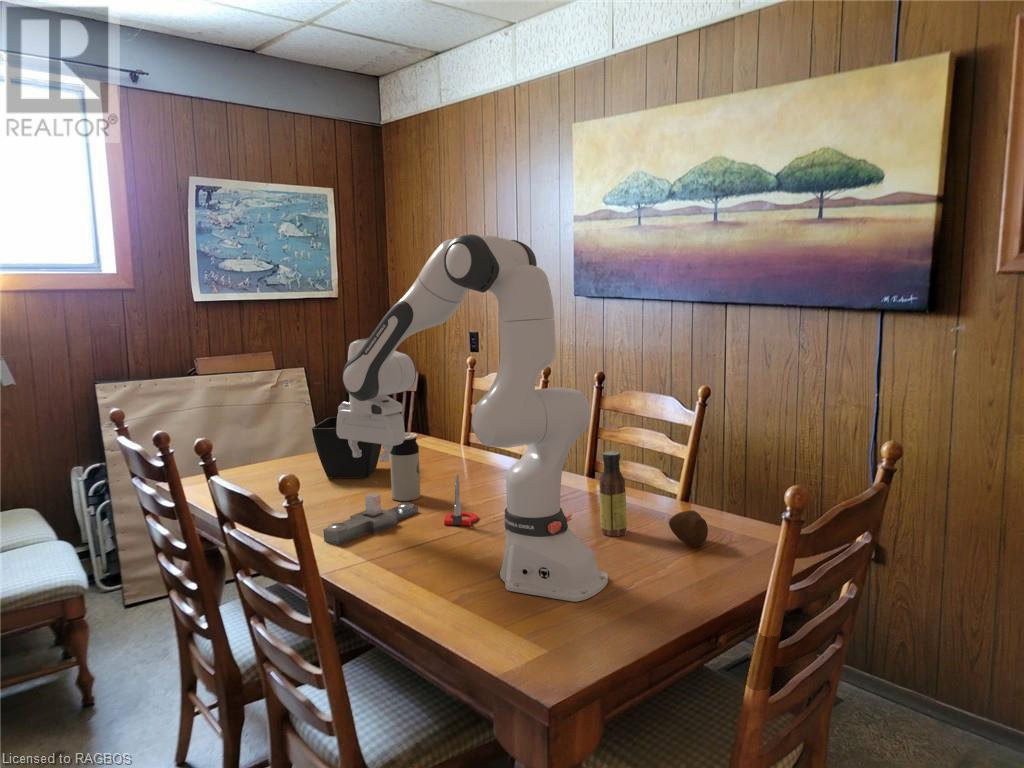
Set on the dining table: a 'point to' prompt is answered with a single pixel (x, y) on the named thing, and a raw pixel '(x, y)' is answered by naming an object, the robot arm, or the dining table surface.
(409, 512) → the chain end
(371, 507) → the pin
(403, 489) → the travel mug
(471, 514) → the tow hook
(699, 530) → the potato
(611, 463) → the sauce bottle
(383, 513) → the bar
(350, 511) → the dining table surface
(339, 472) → the flower pot
